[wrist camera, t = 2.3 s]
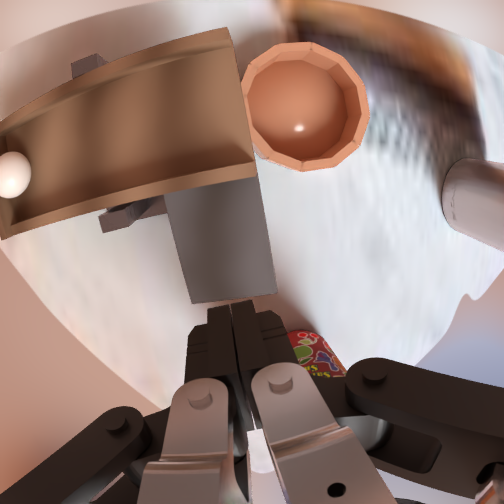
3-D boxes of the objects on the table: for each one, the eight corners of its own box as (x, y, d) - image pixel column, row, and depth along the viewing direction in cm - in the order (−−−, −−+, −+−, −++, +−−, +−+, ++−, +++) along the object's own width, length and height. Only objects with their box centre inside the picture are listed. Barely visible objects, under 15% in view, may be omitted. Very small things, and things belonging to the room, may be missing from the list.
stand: (146, 63, 23) (123, 34, 15) (174, 209, 27) (159, 231, 20) (86, 83, 23) (47, 64, 15) (114, 224, 27) (82, 250, 20)
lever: (235, 49, 18) (225, 22, 13) (276, 275, 24) (277, 311, 19) (21, 128, 20) (-21, 132, 15) (66, 300, 26) (36, 329, 21)
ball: (34, 142, 17) (-3, 150, 14) (43, 186, 19) (6, 199, 16) (15, 155, 19) (-19, 164, 16) (23, 195, 20) (-10, 207, 17)
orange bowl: (339, 52, 24) (354, 42, 21) (359, 159, 28) (376, 161, 25) (225, 61, 24) (227, 49, 20) (247, 177, 27) (252, 180, 24)
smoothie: (291, 306, 32) (369, 466, 13) (345, 337, 34) (431, 472, 15) (244, 361, 33) (275, 525, 15) (300, 386, 36) (351, 525, 17)
